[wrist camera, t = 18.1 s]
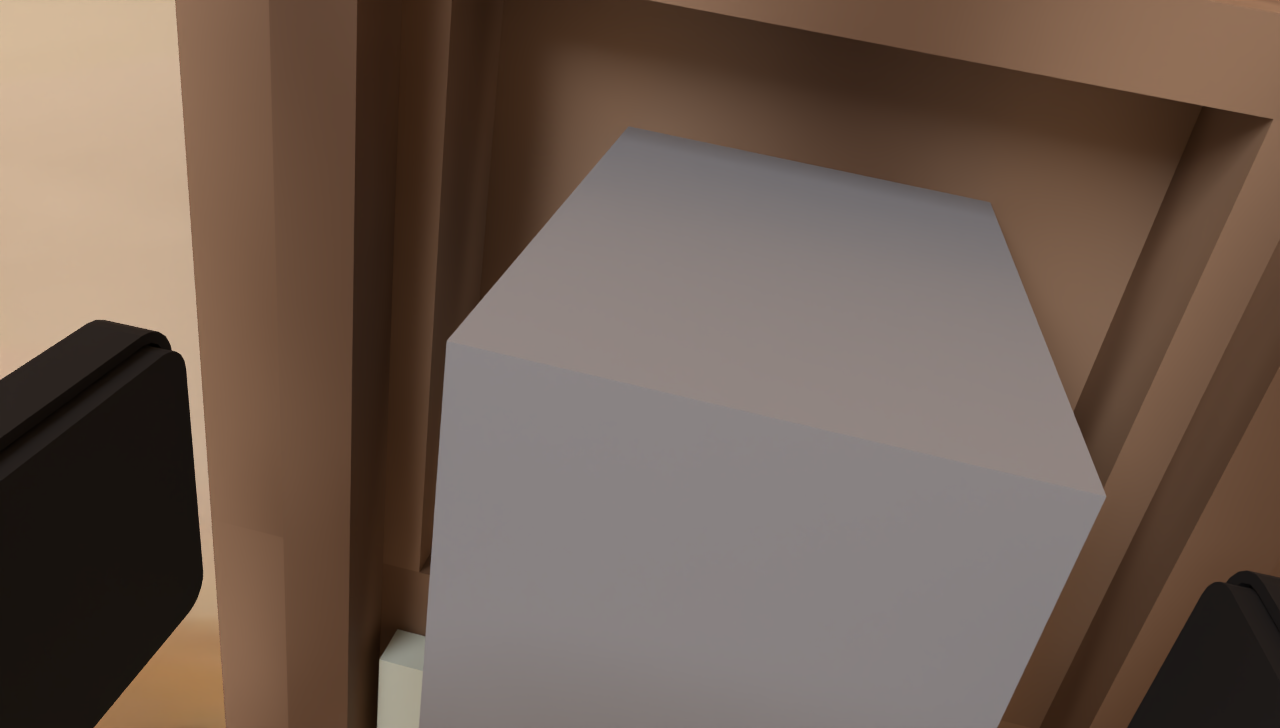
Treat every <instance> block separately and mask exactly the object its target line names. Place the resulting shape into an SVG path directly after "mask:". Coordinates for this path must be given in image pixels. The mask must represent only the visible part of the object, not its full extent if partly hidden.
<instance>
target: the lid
mask: <svg viewBox="0 0 1280 728" xmlns="http://www.w3.org/2000/svg"><path fill="white" fill-rule="evenodd" d="M424 650H425V636H422V635H418V634H414V633H410V632H406V631H403V630H399V629H397V631H396V632H395V634H394V636H393V638H392V639H391V641H390V643H389V644H388V646H387V648H386V649H385V651H384V653H383V654H382V656H381V658H380V659H379V686H378V715H377V728H419V719H420V705H421V692H422V678H423V664H424Z"/></svg>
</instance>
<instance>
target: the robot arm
mask: <svg viewBox="0 0 1280 728" xmlns="http://www.w3.org/2000/svg"><path fill="white" fill-rule="evenodd" d="M202 580H203V565H202V553H201V541H200V529H199V517H198V505H197V493H196V481H195V469H194V458H193V446H192V434H191V422H190V410H189V398H188V386H187V374H186V366H185V362H184V359H183V358H182V356H181V355H180V354H179V353H177V352H175V351H172V350H171V345H170V343H169V341H168V340H167V338H166V336H164V335H163V334H161V333H160V332H157V331H152V330H147V329H143V328H138V327H134V326H129V325H125V324H120V323H115V322H111V321H106V320H95V321H92V322H90V323H88V324H86V325H84V326H83V327H81V328H80V329H78V330H77V331H75V332H74V333H72V334H70V335H69V336H67V337H66V338H64V339H63V340H61V341H60V342H58V343H57V344H55V345H54V346H52V347H50V348H49V349H47V350H46V351H44V352H43V353H41V354H40V355H38V356H37V357H35V358H34V359H32V360H30V361H29V362H27V363H26V364H24V365H23V366H21V367H20V368H18V369H17V370H15V371H14V372H12V373H10V374H9V375H7V376H6V377H4V378H3V379H1V380H0V728H94V727H95V725H96V724H97V723H98V722H99V721H100V719H101V718H102V717H103V716H104V714H105V713H106V712H107V711H108V710H109V708H110V707H111V706H112V705H113V704H114V702H115V701H116V700H117V699H118V698H119V696H120V695H121V694H122V693H123V692H124V690H125V689H126V688H127V687H128V685H129V684H130V683H131V682H132V681H133V679H134V678H135V677H136V676H137V675H138V673H139V672H140V671H141V670H142V669H143V667H144V666H145V665H146V664H147V663H148V661H149V660H150V659H151V658H152V656H153V655H154V654H155V653H156V652H157V650H158V649H159V648H160V647H161V646H162V644H163V643H164V642H165V641H166V640H167V638H168V637H169V636H170V635H171V634H172V632H173V631H174V630H175V629H176V627H177V626H178V625H179V624H180V623H181V621H182V620H183V619H184V618H185V617H186V615H187V614H188V613H189V611H190V610H191V609H192V607H193V606H194V604H195V602H196V600H197V598H198V595H199V592H200V589H201V585H202ZM1127 728H1280V577H1275V576H1271V575H1266V574H1262V573H1257V572H1252V571H1248V570H1246V571H1239V572H1237V573H1236V574H1234V575H1233V576H1231V577H1230V578H1229V579H1228V581H1227V582H1226V583H1224V582H1213V583H1212V584H1210V585H1209V586H1208V587H1207V588H1206V589H1205V590H1204V592H1203V593H1202V595H1201V596H1200V598H1199V600H1198V602H1197V604H1196V605H1195V607H1194V609H1193V611H1192V613H1191V614H1190V616H1189V618H1188V620H1187V621H1186V623H1185V625H1184V627H1183V629H1182V630H1181V632H1180V634H1179V636H1178V638H1177V639H1176V641H1175V643H1174V645H1173V646H1172V648H1171V650H1170V652H1169V654H1168V655H1167V657H1166V659H1165V661H1164V663H1163V664H1162V666H1161V668H1160V670H1159V671H1158V673H1157V675H1156V677H1155V679H1154V680H1153V682H1152V684H1151V686H1150V687H1149V689H1148V691H1147V693H1146V695H1145V696H1144V698H1143V700H1142V702H1141V704H1140V705H1139V707H1138V709H1137V711H1136V712H1135V714H1134V716H1133V718H1132V720H1131V721H1130V723H1129V725H1128V727H1127Z"/></svg>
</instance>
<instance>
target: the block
mask: <svg viewBox="0 0 1280 728" xmlns="http://www.w3.org/2000/svg"><path fill="white" fill-rule="evenodd" d="M1105 499H1106V494H1105V491H1104V489H1103V486H1102V484H1101V481H1100V479H1099V476H1098V474H1097V471H1096V469H1095V466H1094V464H1093V461H1092V458H1091V456H1090V453H1089V451H1088V448H1087V446H1086V443H1085V441H1084V438H1083V436H1082V433H1081V431H1080V428H1079V426H1078V423H1077V421H1076V418H1075V415H1074V413H1073V410H1072V408H1071V405H1070V403H1069V400H1068V398H1067V395H1066V393H1065V390H1064V388H1063V385H1062V383H1061V380H1060V378H1059V375H1058V373H1057V370H1056V367H1055V365H1054V362H1053V360H1052V357H1051V355H1050V352H1049V350H1048V347H1047V345H1046V342H1045V340H1044V337H1043V335H1042V332H1041V330H1040V327H1039V324H1038V322H1037V319H1036V317H1035V314H1034V312H1033V309H1032V307H1031V304H1030V302H1029V299H1028V297H1027V294H1026V292H1025V289H1024V287H1023V284H1022V281H1021V279H1020V276H1019V274H1018V271H1017V269H1016V266H1015V264H1014V261H1013V259H1012V256H1011V254H1010V251H1009V249H1008V246H1007V244H1006V241H1005V238H1004V236H1003V233H1002V231H1001V228H1000V226H999V223H998V221H997V218H996V216H995V213H994V211H993V208H992V206H991V203H990V202H986V201H982V200H977V199H972V198H967V197H963V196H958V195H953V194H948V193H944V192H939V191H934V190H929V189H925V188H920V187H915V186H910V185H906V184H901V183H896V182H891V181H887V180H882V179H877V178H872V177H868V176H863V175H858V174H853V173H849V172H844V171H839V170H834V169H829V168H825V167H820V166H815V165H810V164H806V163H801V162H796V161H791V160H787V159H782V158H777V157H772V156H768V155H763V154H758V153H753V152H749V151H744V150H739V149H734V148H730V147H725V146H720V145H715V144H711V143H706V142H701V141H696V140H691V139H687V138H682V137H677V136H672V135H668V134H663V133H658V132H653V131H649V130H644V129H639V128H634V127H630V126H628V128H627V129H626V130H625V131H624V132H623V133H622V135H621V136H620V137H619V138H618V139H617V141H616V142H615V143H614V144H613V145H612V146H611V148H610V149H609V150H608V151H607V152H606V153H605V155H604V156H603V157H602V158H601V159H600V161H599V162H598V163H597V164H596V165H595V166H594V168H593V169H592V170H591V171H590V172H589V174H588V175H587V176H586V177H585V178H584V179H583V181H582V182H581V183H580V184H579V185H578V187H577V188H576V189H575V190H574V191H573V192H572V194H571V195H570V196H569V197H568V198H567V200H566V201H565V202H564V203H563V204H562V205H561V207H560V208H559V209H558V210H557V211H556V213H555V214H554V215H553V216H552V217H551V218H550V220H549V221H548V222H547V223H546V224H545V226H544V227H543V228H542V229H541V230H540V231H539V233H538V234H537V235H536V236H535V237H534V238H533V240H532V241H531V242H530V243H529V244H528V246H527V247H526V248H525V249H524V250H523V251H522V253H521V254H520V255H519V256H518V257H517V259H516V260H515V261H514V262H513V263H512V264H511V266H510V267H509V268H508V269H507V270H506V272H505V273H504V274H503V275H502V276H501V277H500V279H499V280H498V281H497V282H496V283H495V285H494V286H493V287H492V288H491V289H490V290H489V292H488V293H487V294H486V295H485V296H484V298H483V299H482V300H481V301H480V302H479V303H478V305H477V306H476V307H475V308H474V309H473V311H472V312H471V313H470V314H469V315H468V316H467V318H466V319H465V320H464V321H463V322H462V323H461V325H460V326H459V327H458V328H457V329H456V331H455V332H454V333H453V334H452V335H451V336H450V338H449V339H448V340H447V344H446V358H445V372H444V386H443V399H442V413H441V427H440V441H439V455H438V469H437V483H436V497H435V511H434V525H433V539H432V552H431V566H430V580H429V594H428V608H427V622H426V636H425V650H424V664H423V678H422V692H421V705H420V719H419V728H997V727H998V725H999V723H1000V721H1001V719H1002V716H1003V714H1004V712H1005V710H1006V708H1007V706H1008V704H1009V702H1010V700H1011V697H1012V695H1013V693H1014V691H1015V689H1016V687H1017V685H1018V683H1019V680H1020V678H1021V676H1022V674H1023V672H1024V670H1025V668H1026V666H1027V664H1028V661H1029V659H1030V657H1031V655H1032V653H1033V651H1034V649H1035V647H1036V645H1037V642H1038V640H1039V638H1040V636H1041V634H1042V632H1043V630H1044V628H1045V625H1046V623H1047V621H1048V619H1049V617H1050V615H1051V613H1052V611H1053V609H1054V606H1055V604H1056V602H1057V600H1058V598H1059V596H1060V594H1061V592H1062V589H1063V587H1064V585H1065V583H1066V581H1067V579H1068V577H1069V575H1070V573H1071V570H1072V568H1073V566H1074V564H1075V562H1076V560H1077V558H1078V556H1079V554H1080V551H1081V549H1082V547H1083V545H1084V543H1085V541H1086V539H1087V537H1088V534H1089V532H1090V530H1091V528H1092V526H1093V524H1094V522H1095V520H1096V518H1097V515H1098V513H1099V511H1100V509H1101V507H1102V505H1103V503H1104V501H1105Z"/></svg>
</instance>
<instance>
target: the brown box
mask: <svg viewBox="0 0 1280 728" xmlns="http://www.w3.org/2000/svg"><path fill="white" fill-rule="evenodd" d="M175 3H176V18H177V32H178V46H179V61H180V75H181V89H182V103H183V118H184V132H185V146H186V161H187V175H188V189H189V204H190V218H191V232H192V247H193V261H194V275H195V289H196V304H197V318H198V332H199V347H200V361H201V375H202V390H203V404H204V418H205V433H206V447H207V461H208V475H209V490H210V504H211V518H212V533H213V547H214V561H215V576H216V590H217V604H218V619H219V633H220V647H221V661H222V676H223V690H224V704H225V719H226V728H377V715H378V686H379V659H380V658H381V656H382V654H383V653H384V651H385V649H386V648H387V646H388V644H389V643H390V641H391V639H392V638H393V636H394V634H395V632H396V631H397V629H399V630H403V631H406V632H410V633H414V634H418V635H422V636H426V622H427V608H428V594H429V580H430V566H431V552H432V539H433V525H434V511H435V497H436V483H437V469H438V455H439V441H440V427H441V413H442V399H443V386H444V372H445V358H446V344H447V340H448V339H449V338H450V336H451V335H452V334H453V333H454V332H455V331H456V329H457V328H458V327H459V326H460V325H461V323H462V322H463V321H464V320H465V319H466V318H467V316H468V315H469V314H470V313H471V312H472V311H473V309H474V308H475V307H476V306H477V305H478V303H479V302H480V301H481V300H482V299H483V298H484V296H485V295H486V294H487V293H488V292H489V290H490V289H491V288H492V287H493V286H494V285H495V283H496V282H497V281H498V280H499V279H500V277H501V276H502V275H503V274H504V273H505V272H506V270H507V269H508V268H509V267H510V266H511V264H512V263H513V262H514V261H515V260H516V259H517V257H518V256H519V255H520V254H521V253H522V251H523V250H524V249H525V248H526V247H527V246H528V244H529V243H530V242H531V241H532V240H533V238H534V237H535V236H536V235H537V234H538V233H539V231H540V230H541V229H542V228H543V227H544V226H545V224H546V223H547V222H548V221H549V220H550V218H551V217H552V216H553V215H554V214H555V213H556V211H557V210H558V209H559V208H560V207H561V205H562V204H563V203H564V202H565V201H566V200H567V198H568V197H569V196H570V195H571V194H572V192H573V191H574V190H575V189H576V188H577V187H578V185H579V184H580V183H581V182H582V181H583V179H584V178H585V177H586V176H587V175H588V174H589V172H590V171H591V170H592V169H593V168H594V166H595V165H596V164H597V163H598V162H599V161H600V159H601V158H602V157H603V156H604V155H605V153H606V152H607V151H608V150H609V149H610V148H611V146H612V145H613V144H614V143H615V142H616V141H617V139H618V138H619V137H620V136H621V135H622V133H623V132H624V131H625V130H626V129H627V128H628V126H630V127H634V128H639V129H644V130H649V131H653V132H658V133H663V134H668V135H672V136H677V137H682V138H687V139H691V140H696V141H701V142H706V143H711V144H715V145H720V146H725V147H730V148H734V149H739V150H744V151H749V152H753V153H758V154H763V155H768V156H772V157H777V158H782V159H787V160H791V161H796V162H801V163H806V164H810V165H815V166H820V167H825V168H829V169H834V170H839V171H844V172H849V173H853V174H858V175H863V176H868V177H872V178H877V179H882V180H887V181H891V182H896V183H901V184H906V185H910V186H915V187H920V188H925V189H929V190H934V191H939V192H944V193H948V194H953V195H958V196H963V197H967V198H972V199H977V200H982V201H986V202H990V203H991V206H992V208H993V211H994V213H995V216H996V218H997V221H998V223H999V226H1000V228H1001V231H1002V233H1003V236H1004V238H1005V241H1006V244H1007V246H1008V249H1009V251H1010V254H1011V256H1012V259H1013V261H1014V264H1015V266H1016V269H1017V271H1018V274H1019V276H1020V279H1021V281H1022V284H1023V287H1024V289H1025V292H1026V294H1027V297H1028V299H1029V302H1030V304H1031V307H1032V309H1033V312H1034V314H1035V317H1036V319H1037V322H1038V324H1039V327H1040V330H1041V332H1042V335H1043V337H1044V340H1045V342H1046V345H1047V347H1048V350H1049V352H1050V355H1051V357H1052V360H1053V362H1054V365H1055V367H1056V370H1057V373H1058V375H1059V378H1060V380H1061V383H1062V385H1063V388H1064V390H1065V393H1066V395H1067V398H1068V400H1069V403H1070V405H1071V408H1072V410H1073V413H1074V415H1075V418H1076V421H1077V423H1078V426H1079V428H1080V431H1081V433H1082V436H1083V438H1084V441H1085V443H1086V446H1087V448H1088V451H1089V453H1090V456H1091V458H1092V461H1093V464H1094V466H1095V469H1096V471H1097V474H1098V476H1099V479H1100V481H1101V484H1102V486H1103V489H1104V491H1105V494H1106V499H1105V501H1104V503H1103V505H1102V507H1101V509H1100V511H1099V513H1098V515H1097V518H1096V520H1095V522H1094V524H1093V526H1092V528H1091V530H1090V532H1089V534H1088V537H1087V539H1086V541H1085V543H1084V545H1083V547H1082V549H1081V551H1080V554H1079V556H1078V558H1077V560H1076V562H1075V564H1074V566H1073V568H1072V570H1071V573H1070V575H1069V577H1068V579H1067V581H1066V583H1065V585H1064V587H1063V589H1062V592H1061V594H1060V596H1059V598H1058V600H1057V602H1056V604H1055V606H1054V609H1053V611H1052V613H1051V615H1050V617H1049V619H1048V621H1047V623H1046V625H1045V628H1044V630H1043V632H1042V634H1041V636H1040V638H1039V640H1038V642H1037V645H1036V647H1035V649H1034V651H1033V653H1032V655H1031V657H1030V659H1029V661H1028V664H1027V666H1026V668H1025V670H1024V672H1023V674H1022V676H1021V678H1020V680H1019V683H1018V685H1017V687H1016V689H1015V691H1014V693H1013V695H1012V697H1011V700H1010V702H1009V704H1008V706H1007V708H1006V710H1005V712H1004V714H1003V716H1002V719H1001V721H1000V723H999V725H998V727H997V728H1127V727H1128V725H1129V723H1130V721H1131V720H1132V718H1133V716H1134V714H1135V712H1136V711H1137V709H1138V707H1139V705H1140V704H1141V702H1142V700H1143V698H1144V696H1145V695H1146V693H1147V691H1148V689H1149V687H1150V686H1151V684H1152V682H1153V680H1154V679H1155V677H1156V675H1157V673H1158V671H1159V670H1160V668H1161V666H1162V664H1163V663H1164V661H1165V659H1166V657H1167V655H1168V654H1169V652H1170V650H1171V648H1172V646H1173V645H1174V643H1175V641H1176V639H1177V638H1178V636H1179V634H1180V632H1181V630H1182V629H1183V627H1184V625H1185V623H1186V621H1187V620H1188V618H1189V616H1190V614H1191V613H1192V611H1193V609H1194V607H1195V605H1196V604H1197V602H1198V600H1199V598H1200V596H1201V595H1202V593H1203V592H1204V590H1205V589H1206V588H1207V587H1208V586H1209V585H1210V584H1212V583H1213V582H1224V583H1226V582H1227V581H1228V579H1229V578H1230V577H1231V576H1233V575H1234V574H1236V573H1237V572H1239V571H1246V570H1248V571H1252V572H1257V573H1262V574H1266V575H1271V576H1275V577H1280V0H175Z"/></svg>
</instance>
